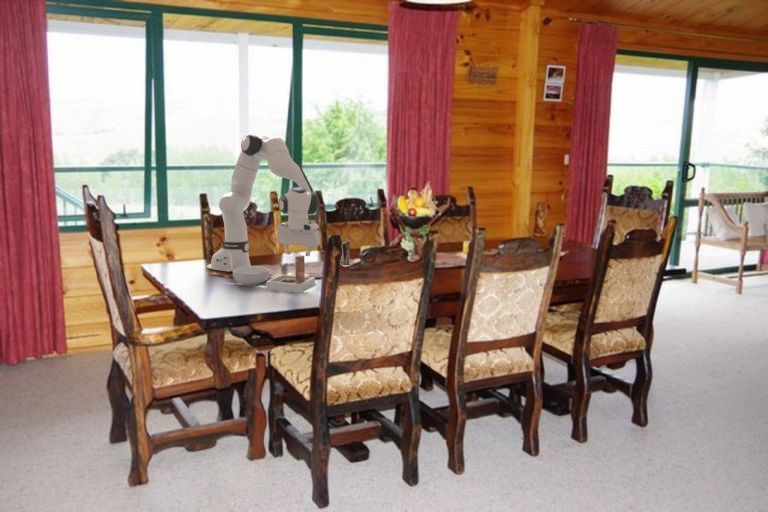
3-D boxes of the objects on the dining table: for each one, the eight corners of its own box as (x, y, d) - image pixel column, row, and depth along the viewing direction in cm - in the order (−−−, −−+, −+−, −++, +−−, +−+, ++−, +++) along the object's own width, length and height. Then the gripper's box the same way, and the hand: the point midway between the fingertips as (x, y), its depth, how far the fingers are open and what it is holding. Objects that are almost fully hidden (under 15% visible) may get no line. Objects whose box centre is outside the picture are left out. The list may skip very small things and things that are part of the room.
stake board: (268, 279, 333) (268, 265, 332) (281, 273, 346) (281, 260, 344) (299, 282, 328) (299, 268, 327) (311, 276, 340) (310, 262, 339)
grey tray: (266, 289, 314) (266, 281, 313) (281, 282, 328) (281, 274, 327) (300, 292, 309) (300, 284, 308) (315, 285, 322) (315, 277, 322)
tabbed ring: (275, 286, 316) (274, 256, 313) (284, 282, 324) (283, 252, 321) (298, 289, 312) (297, 258, 309) (307, 284, 320) (306, 254, 318)
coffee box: (345, 276, 340) (345, 244, 337) (332, 276, 342) (332, 243, 338) (350, 272, 349) (350, 241, 346) (337, 272, 350) (337, 240, 347)
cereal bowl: (229, 281, 328) (229, 267, 327) (264, 278, 335) (264, 264, 333) (237, 290, 313) (236, 274, 312) (273, 286, 319) (273, 271, 318)
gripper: (274, 223, 311) (274, 254, 314) (315, 227, 305) (315, 258, 307) (280, 221, 317) (280, 251, 320) (321, 225, 311) (321, 255, 313)
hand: (298, 255), depth 314 cm, fingers open, 8 cm apart
